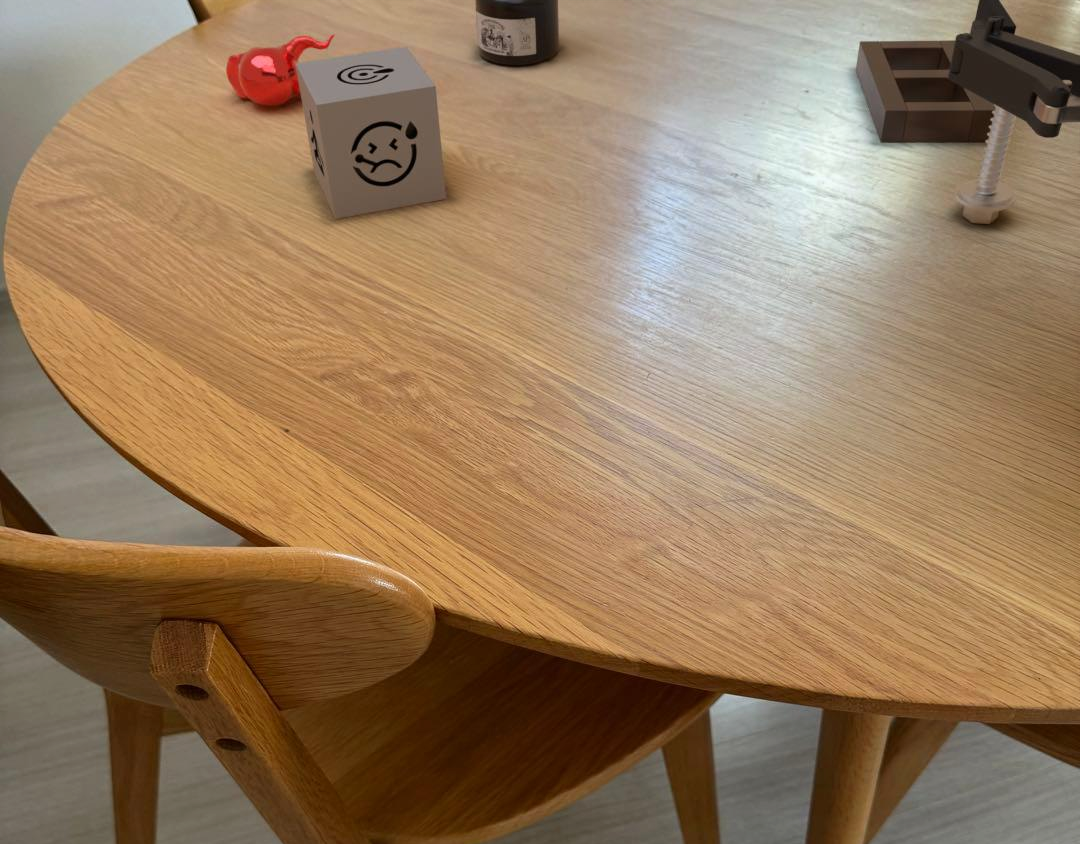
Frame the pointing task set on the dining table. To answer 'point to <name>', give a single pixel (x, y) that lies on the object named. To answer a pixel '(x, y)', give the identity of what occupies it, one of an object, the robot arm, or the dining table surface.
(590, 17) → the dining table surface
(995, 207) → the screw
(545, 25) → the ink bottle
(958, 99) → the brown divided frame
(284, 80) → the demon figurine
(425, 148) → the icon cube
